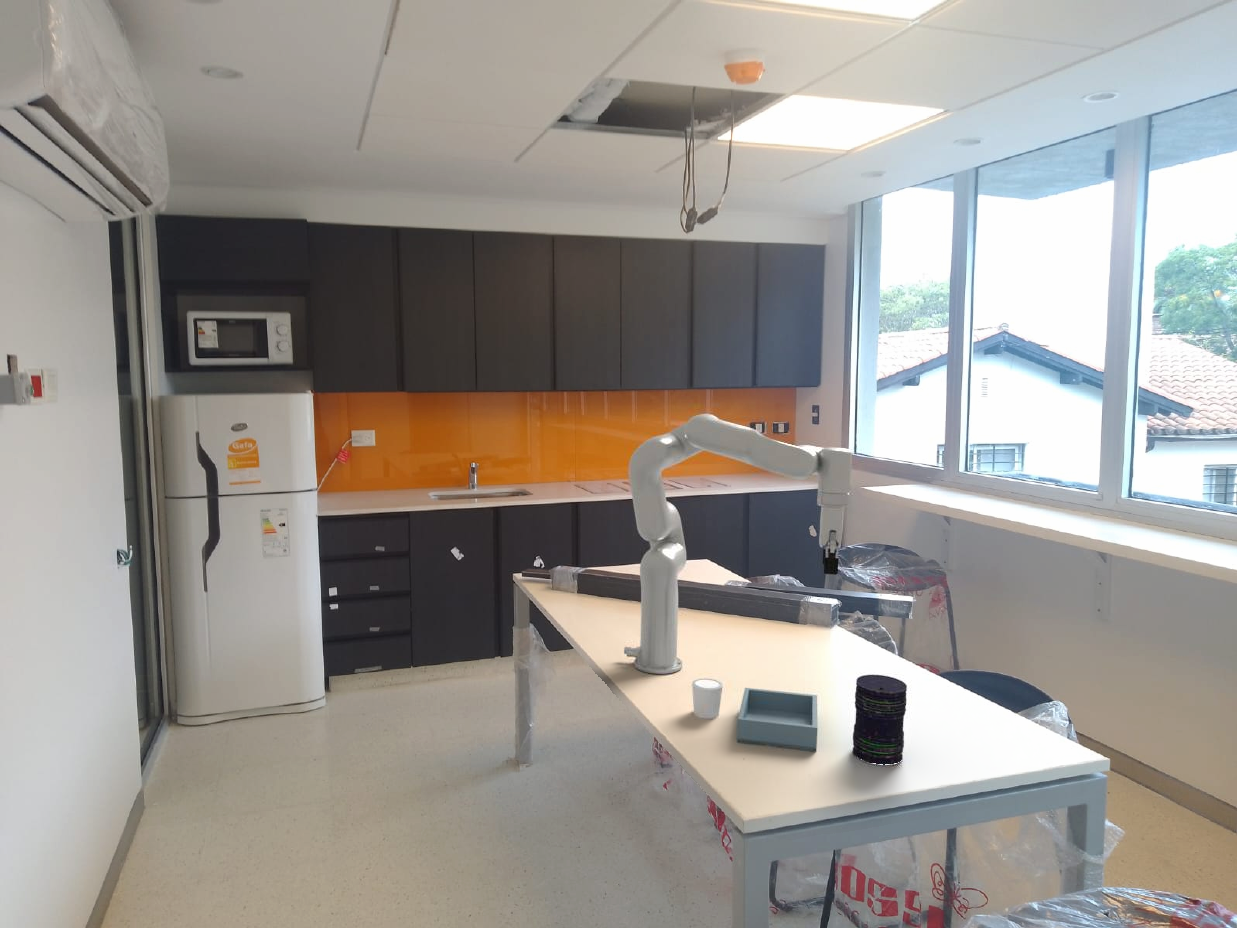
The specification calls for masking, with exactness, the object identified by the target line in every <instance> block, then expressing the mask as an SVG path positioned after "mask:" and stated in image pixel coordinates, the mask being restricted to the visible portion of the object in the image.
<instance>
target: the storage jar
mask: <svg viewBox="0 0 1237 928" xmlns="http://www.w3.org/2000/svg"><path fill="white" fill-rule="evenodd" d="M855 684H856V686H855V693H854V699H855V701H854V708H855V722H854V725H853V733H852V745H853V748H852V755H854V757H855V756H856V757H855V758H857V757H858V758H859V759H858V758H857V759H858V760H860V759H862V760H864V761H866V762H869V763H876V764H883V765H885V764H894V763H898V762H900V761H901V760H902V761H903V758H904V757H903V753H904V746H905V732H904V718H905V715H906V711H907V708H906V706H907V691H908V689H907V687H908V686H907V684H906V682H904V681H903V680H901V679H898V678H895V677H893V676H888V675H885V674H884V675H883V674H882V675H881V674H865V675H861V676H858V677H857V678H856V682H855ZM862 760H861V761H862ZM864 761H863V762H864ZM902 761H901V762H902ZM866 762H865V763H866ZM901 762H900V763H901ZM869 763H868V764H869Z"/></svg>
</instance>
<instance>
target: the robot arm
mask: <svg viewBox="0 0 1237 928" xmlns="http://www.w3.org/2000/svg"><path fill="white" fill-rule="evenodd" d="M703 451H704V452H709V453H712V454H716V455H719V456H722V457H725V458H729V459H732V460H735V461H739V462H742V463H744V464H747V465H751V466H753V467H756V468H759V469H760V470H761V469H762V470H765V471H767V472H770V473H774V474H777V475H782V476H783V477H788V478H790V479H795V480H806V479H807V478H810V477H811V476H813V475H818V481H817V498H816V502H817V503H816V505H817V506H820V507H821V509H820V517H819V518H820V519H819V537H818V538H819V539H818V543H819V547H820V548H823V547H824V548H823V549H822V550H823V551H822V565H823V574H824V575H834V576H835V575H838V574H839V557H838V556H839V549H841V546H842V540H843V531H844V517H845V508H849V507H850V501H851V484H852V469H853V468H852V466H853V463H852V462H853V453H852V451H851V450H850V449H848V448H844V447H818V446H814V445H808V444H801V445H797V446H796V445H792V444H788V443H786V442H781V441H779V440H775V439H772V438H770V437H767V436H765V435H764V434H762V433H760V432H759V431H758V430H756V429H754V428H753V427H752V428H751V427H749V426H745V425H741V424H737V423H733V422H729V421H726V420H723V419H720V418H718V417H717V416H715V415H713V414H711V413H710V414H709V413H702V414H697V415H693V416H692V417H691V418H690V419H689V420H688V421H687V422H685V423H684V424H682V425H681V426H678V427H676V428H674V429H672V430H670V431H668V432H666V433H663V434H661V435H656V436H654V437H651V438H649V439H647V440H646V441H644V442H643V443H641V444H640V445H639V446H638V447H637V448H636V449H635V450H634V452H633V454H632V455H631V457H630V460H629V464H628V478H629V484H630V491H631V496H632V503H633V511H634V515H635V522H636V529H637V532H638V534H639V535H640V537H641V538H643V540H644V541H646V542H649V546H650V549H648V550H647V551H646V552H645V553H644V555H643V556H642V559H641V560H640V564H639V565H640V567H639V577H640V588H641V589H640V590H641V591H640V592H641V593H640V595H641V596H640V597H641V600H640V609H641V610H640V614H641V615H640V641H639V642H640V644H639V645H640V646H636V647H632V646H624V648H623V649H624V650H623V654H624V655H626V657H629V658H635V659H634V660H633V666H634V668H635V669H638V670H639V671H641V672H644V673H648V674H656V675H657V674H659V675H664V674H666V675H667V674H672V673H673V674H674V673H676V672H678V671H680V670H682V668H683V660H681V659H680V658H678V655H677V654H678V623H679V585H678V575H679V573H681V571H683V569H684V568H685V565H686V564H687V563H686V562H687V548H686V543H685V537H684V531H683V525H682V519H681V516H680V513H679V511H678V509H677V508H676V506H675V505H674V504H673V503H671V502H669V501H667V497H666V490H665V485H664V481H663V478H662V472H663V471H664V470H666V469H668V468H671V467H673V466H675V465H678V464H679V463H681V462H683V461H685V460H687V459H689V458H692V457H693V456H695V455H697V454H699V453H701V452H703Z"/></svg>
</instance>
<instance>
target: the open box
mask: <svg viewBox="0 0 1237 928" xmlns="http://www.w3.org/2000/svg"><path fill="white" fill-rule="evenodd" d="M737 717H738V718H737V731H736V743H742V744H748V743H749V745H759V746H765V745H770V746H769V747H773V746H776V747H775V748H781V747H782V748H783V749H790V750H791V749H793V750H798V749H802V750H801V751H807V750H808V751H807V752H815V751H816V752H817V747H818V744H817V743H818V695H817V694H811V693H799V692H791V691H790V692H789V691H780V690H771V689H763V688H751V687H744V690H743V695H742V699H741V703H740V709H739V712H738V716H737Z"/></svg>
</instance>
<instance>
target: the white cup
mask: <svg viewBox="0 0 1237 928" xmlns="http://www.w3.org/2000/svg"><path fill="white" fill-rule="evenodd" d="M723 685H724V684H723V683H722V682H721V681H719V680H717V679H712V678H697V679H694V680H693V681H692V683H691V688H692V703H693V704H692V705H693V707H692V708H693V715H695V716H696V717H698V718H699V719H705V720H706V719H716V718H718V717H719V716H720V707H721V701H722V693H723Z"/></svg>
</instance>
